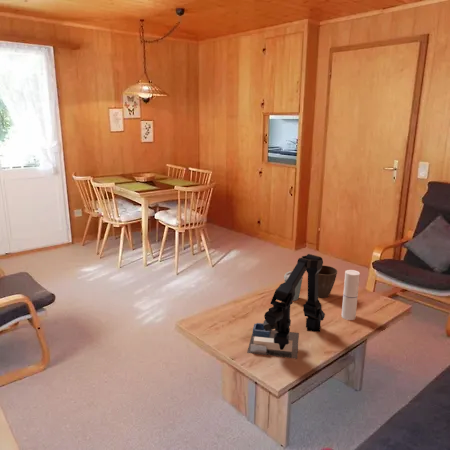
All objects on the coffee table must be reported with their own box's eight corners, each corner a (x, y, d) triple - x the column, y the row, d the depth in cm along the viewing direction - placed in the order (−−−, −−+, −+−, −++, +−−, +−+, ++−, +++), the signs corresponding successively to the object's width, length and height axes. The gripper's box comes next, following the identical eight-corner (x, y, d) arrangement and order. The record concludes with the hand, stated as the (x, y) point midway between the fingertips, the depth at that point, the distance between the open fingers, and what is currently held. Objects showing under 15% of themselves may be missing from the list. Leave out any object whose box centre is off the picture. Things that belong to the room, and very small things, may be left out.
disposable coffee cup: (301, 303, 231) (302, 278, 227) (282, 301, 233) (283, 277, 229) (301, 295, 241) (303, 271, 237) (283, 293, 243) (284, 270, 239)
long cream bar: (292, 347, 184) (292, 340, 183) (291, 351, 181) (292, 344, 180) (254, 343, 188) (254, 336, 187) (253, 347, 184) (253, 340, 183)
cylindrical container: (340, 318, 215) (343, 273, 208) (343, 312, 221) (346, 268, 214) (354, 321, 211) (358, 276, 205) (356, 315, 217) (361, 271, 211)
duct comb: (298, 333, 199) (299, 326, 198) (297, 359, 178) (297, 351, 177) (253, 329, 203) (253, 321, 202) (246, 353, 183) (247, 345, 182)
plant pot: (316, 287, 251) (318, 263, 247) (339, 294, 242) (341, 269, 238) (304, 296, 240) (306, 270, 236) (328, 303, 231) (330, 276, 227)
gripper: (267, 304, 189) (266, 334, 194) (262, 324, 172) (261, 356, 176) (291, 306, 187) (289, 337, 192) (289, 326, 170) (287, 360, 174)
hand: (281, 347), depth 183 cm, fingers closed on long cream bar, 3 cm apart
